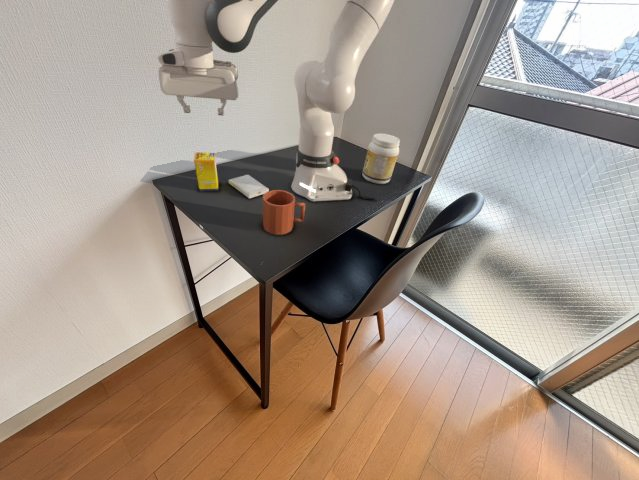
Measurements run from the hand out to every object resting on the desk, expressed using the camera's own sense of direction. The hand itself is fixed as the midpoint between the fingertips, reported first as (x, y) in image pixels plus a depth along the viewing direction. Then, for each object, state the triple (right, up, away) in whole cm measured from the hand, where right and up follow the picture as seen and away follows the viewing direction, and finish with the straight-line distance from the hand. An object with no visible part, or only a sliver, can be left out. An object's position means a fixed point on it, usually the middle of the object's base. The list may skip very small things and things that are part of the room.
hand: (204, 113), depth 80 cm
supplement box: (-4, -20, +12) cm, 23 cm away
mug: (+23, -33, 0) cm, 41 cm away
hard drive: (+9, -19, +15) cm, 26 cm away
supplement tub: (+58, -11, +34) cm, 68 cm away
